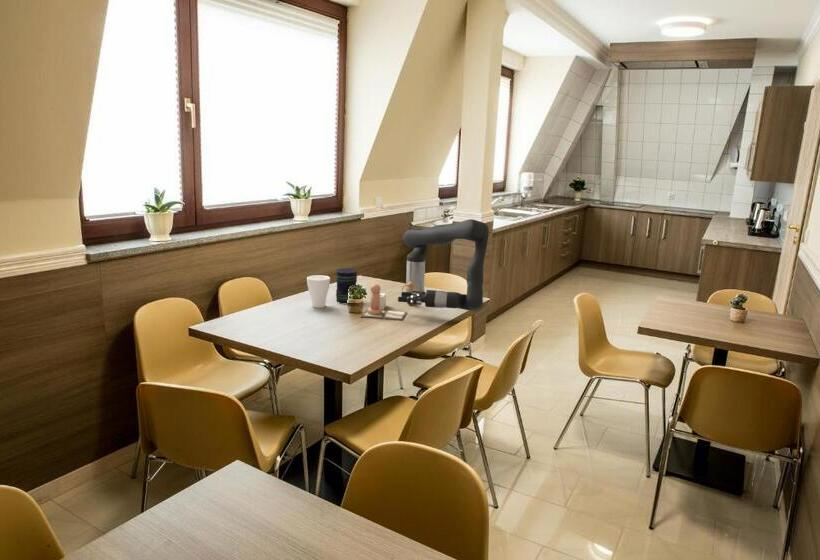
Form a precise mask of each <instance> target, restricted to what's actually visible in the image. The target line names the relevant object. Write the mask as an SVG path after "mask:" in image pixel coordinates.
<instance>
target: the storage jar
mask: <svg viewBox="0 0 820 560" xmlns="http://www.w3.org/2000/svg"><path fill="white" fill-rule="evenodd" d="M335 272H336V273H335V274H336V275H335V280H336V281H335V282H336V291H335V297H336V299H335V302H336V301H337V302H336V303H338V302H339V303H338V304H342V303H347V300H348V289H349V287H350V286H352V285H356V286H357V278H358V276H357V275H358V274H357V273H358V271H357V269H356V268H354V269H353V268H339V269H336V271H335Z"/></svg>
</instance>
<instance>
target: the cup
mask: <svg viewBox="0 0 820 560" xmlns="http://www.w3.org/2000/svg"><path fill="white" fill-rule="evenodd" d="M330 282H331V277H329V276H328V275H322V274H321V275H319V274H317V275H316V274H315V275H309V276H307V277H306V284H307V289H308V292H309V296H310V300H311V301H310V302H311V306H312V308H314V307H315V309H322V308H325V307H326V301H327V296H328V292H329V289H330V284H331V283H330Z"/></svg>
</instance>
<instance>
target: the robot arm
mask: <svg viewBox="0 0 820 560" xmlns="http://www.w3.org/2000/svg"><path fill="white" fill-rule="evenodd" d="M489 231H490V230H489V226H488V224H487V223H485V222H483V221H479V220H476V219H471V218H470V219H466V220H462V221H460V222H455V223H448V224H439V225H434V226H429V227H425V228H411V229H408V230H406V231H405V233H404V234H403V237H402V238H403V243H404V244H405V246H406V247H408V248H413V250H412V251H411V252H410V253H408V254H407V255H406V278H405V279H406V280H405V281H406V282H405V283H406V284H408V283H409V282H410V281H411V282H412V284H414V285H416V286H417V287H418V289H419V290H418V289H417V287H415V286H413V287H412V289H413V291H412V292H411V291H410V292H408V288H409V287H408V286H405V291H402V292H401V293H400V294H401V295H400V296H398V297H397V301H398V302H399V303H407V305H409V304H413V305H416V306H418V305H419V306H421V305H422V304H423V303H424V306H425V308H433V309H435V308H437V309H461V310H466V311H471V312H472V311H475V312H476V311H479V310H481V308H482V307H483V305H484V297H483V296H484V291H483V285H484V267H485V266H484V264H485V258H486V254H487V253H486V252H487V247H488V240H489V235H490V232H489ZM455 240H467V241H471V242H473V243H474V247H475V248H474V253H473V255H472V257H471V260H470V261H469V263H468V266H467V270H466V285H467V287H466V294H463V293H460V292H458V291H457V292H456V291H445V290H438V289H434V290H433V289H426V290H425V277H426V274H425V273H426V257H427V254H428V246H443V245H449V244H451V243H453V242H454V241H455ZM406 284H405V285H406ZM410 300H411V301H410ZM413 305H412V306H413Z"/></svg>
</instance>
